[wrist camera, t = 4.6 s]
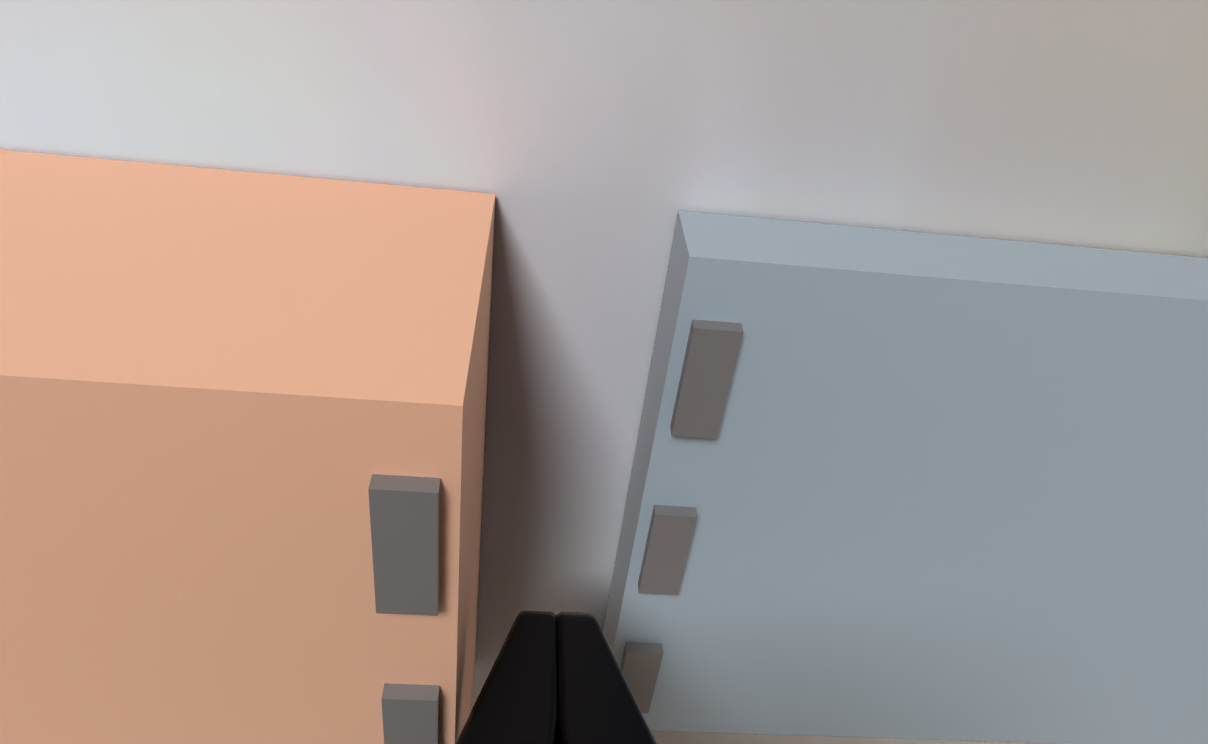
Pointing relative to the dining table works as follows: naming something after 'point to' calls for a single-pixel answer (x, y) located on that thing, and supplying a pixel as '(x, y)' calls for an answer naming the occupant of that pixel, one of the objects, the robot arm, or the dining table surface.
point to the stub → (238, 454)
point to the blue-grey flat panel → (919, 490)
